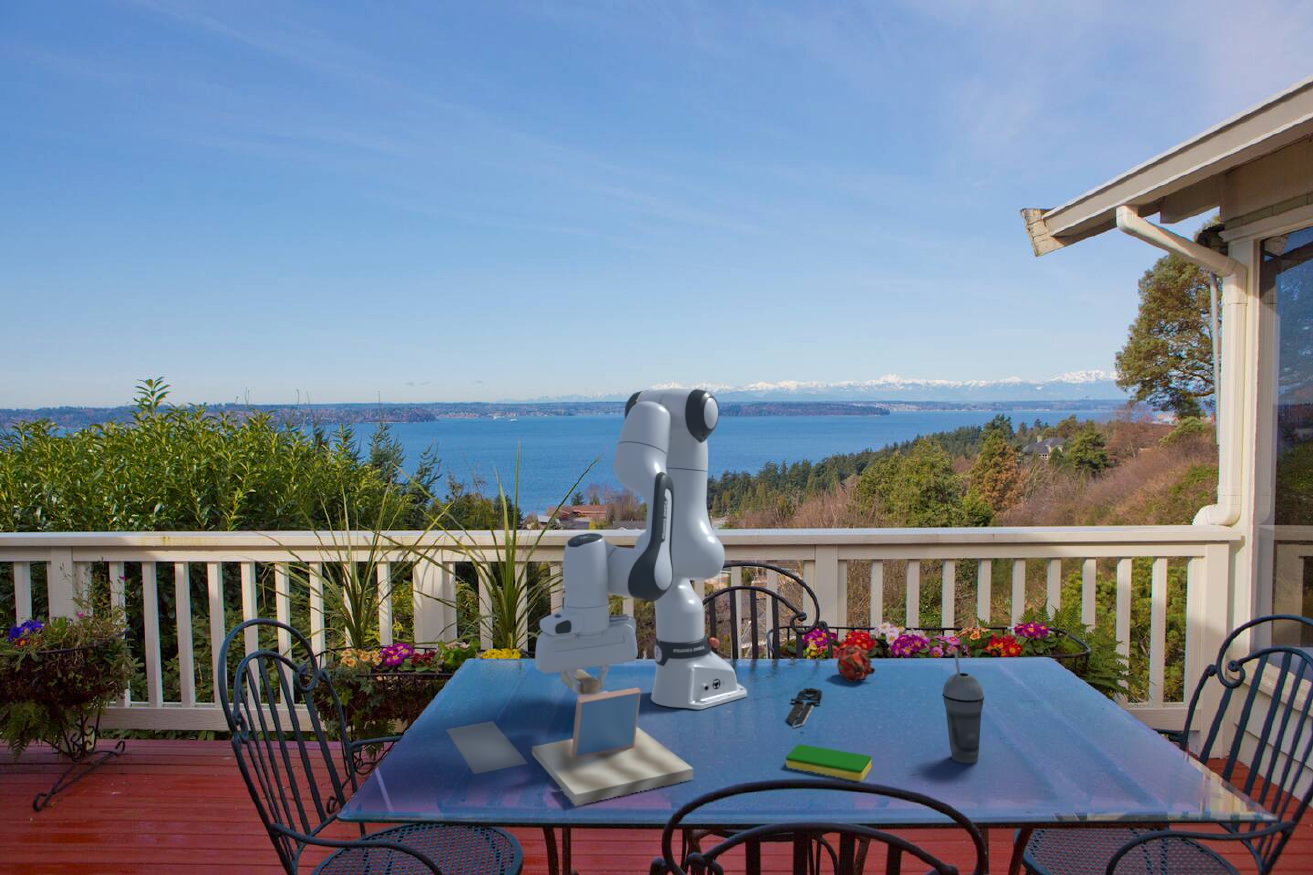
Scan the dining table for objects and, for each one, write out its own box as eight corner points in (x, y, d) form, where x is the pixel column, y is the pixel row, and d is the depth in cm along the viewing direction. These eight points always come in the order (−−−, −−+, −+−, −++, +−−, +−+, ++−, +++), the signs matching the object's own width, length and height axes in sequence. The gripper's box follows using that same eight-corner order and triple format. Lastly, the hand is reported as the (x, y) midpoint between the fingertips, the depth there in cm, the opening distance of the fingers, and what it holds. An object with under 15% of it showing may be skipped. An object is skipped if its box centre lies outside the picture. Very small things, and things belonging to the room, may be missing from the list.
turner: (581, 677, 170) (581, 663, 170) (618, 704, 152) (618, 688, 152) (554, 681, 168) (553, 667, 168) (588, 709, 149) (588, 693, 150)
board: (637, 736, 165) (636, 726, 165) (693, 779, 143) (693, 768, 143) (532, 757, 155) (531, 746, 155) (575, 806, 134) (575, 794, 134)
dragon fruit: (853, 677, 207) (862, 698, 195) (825, 658, 207) (833, 679, 195) (873, 651, 206) (883, 671, 194) (845, 632, 205) (854, 651, 194)
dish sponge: (798, 756, 154) (798, 743, 154) (872, 768, 147) (871, 755, 147) (785, 770, 147) (785, 756, 147) (861, 784, 141) (861, 770, 141)
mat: (492, 723, 174) (492, 721, 174) (528, 766, 151) (528, 763, 151) (445, 732, 170) (445, 729, 170) (474, 777, 146) (474, 774, 146)
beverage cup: (982, 769, 145) (979, 656, 145) (939, 761, 148) (936, 651, 148) (989, 755, 151) (986, 647, 151) (948, 748, 155) (945, 643, 155)
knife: (800, 731, 167) (800, 725, 167) (770, 727, 169) (770, 720, 169) (829, 695, 189) (829, 689, 189) (802, 692, 192) (802, 686, 192)
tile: (631, 741, 155) (637, 687, 152) (634, 747, 154) (641, 692, 150) (571, 753, 150) (577, 697, 147) (574, 759, 149) (579, 702, 145)
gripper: (629, 609, 165) (630, 677, 165) (531, 621, 157) (533, 693, 157) (642, 615, 160) (643, 686, 160) (541, 627, 151) (543, 702, 151)
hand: (588, 689), depth 158 cm, fingers closed on turner, 3 cm apart
